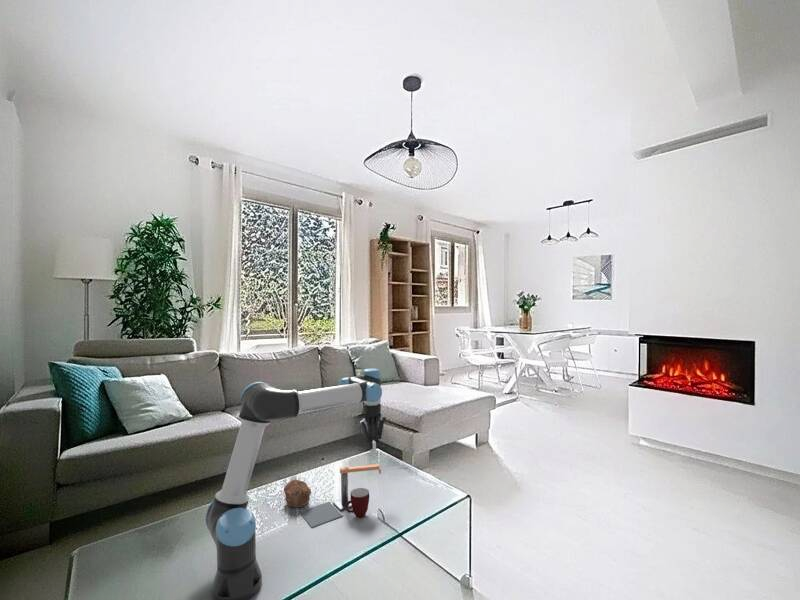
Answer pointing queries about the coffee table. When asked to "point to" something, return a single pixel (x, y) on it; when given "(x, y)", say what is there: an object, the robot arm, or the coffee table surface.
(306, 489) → the decorative rock
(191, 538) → the coffee table surface
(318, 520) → the mat
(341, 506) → the clip post
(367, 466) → the ball-ended drumstick
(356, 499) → the mug
